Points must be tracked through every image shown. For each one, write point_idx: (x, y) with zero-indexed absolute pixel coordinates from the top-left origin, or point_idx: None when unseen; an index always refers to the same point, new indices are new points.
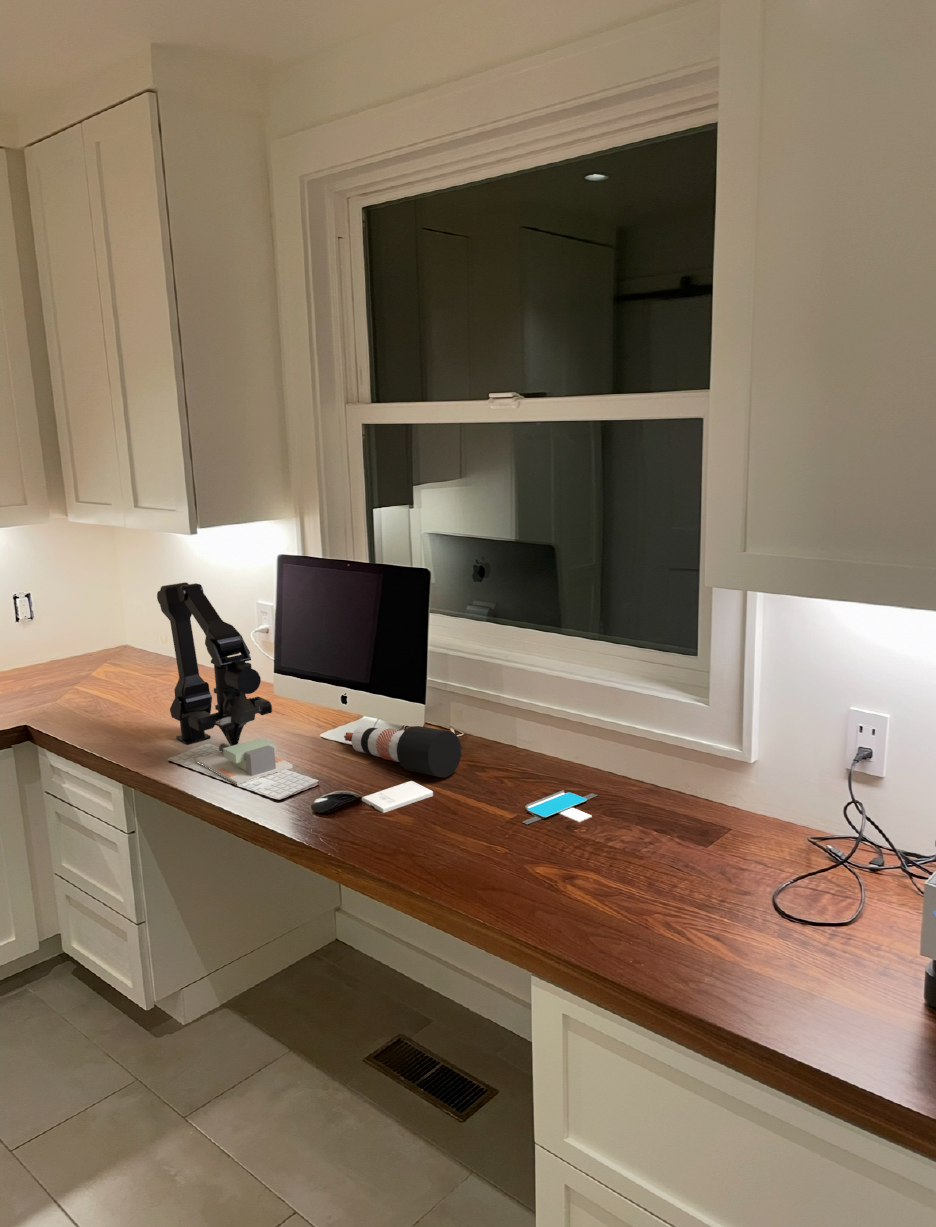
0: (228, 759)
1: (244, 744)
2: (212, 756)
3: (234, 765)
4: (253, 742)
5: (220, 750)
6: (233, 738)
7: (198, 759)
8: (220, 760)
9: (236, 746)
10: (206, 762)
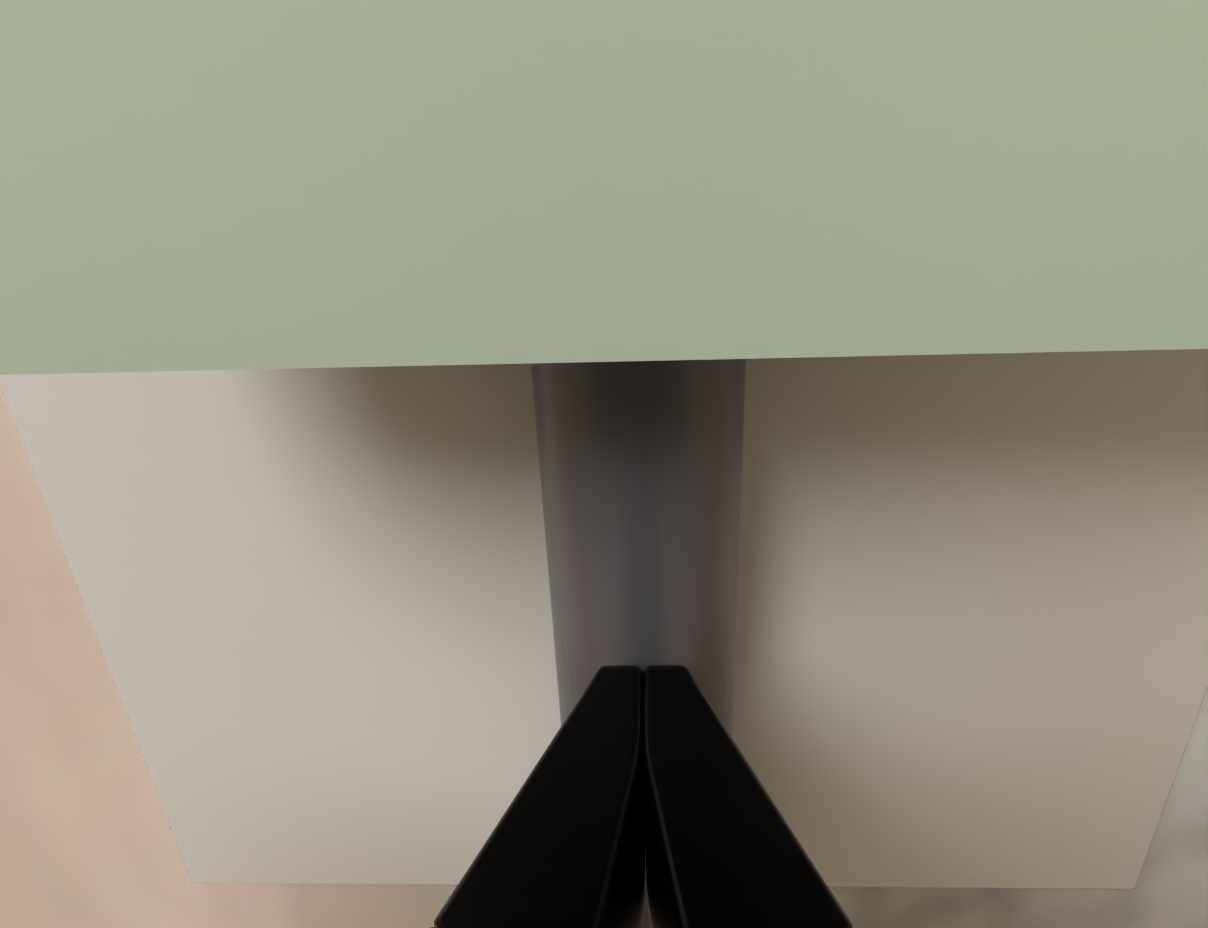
0: (794, 549)
1: (694, 66)
2: (898, 823)
3: None
4: (194, 17)
5: None
6: (703, 878)
7: (1125, 854)
8: (924, 605)
9: (1140, 96)
10: (1150, 681)
